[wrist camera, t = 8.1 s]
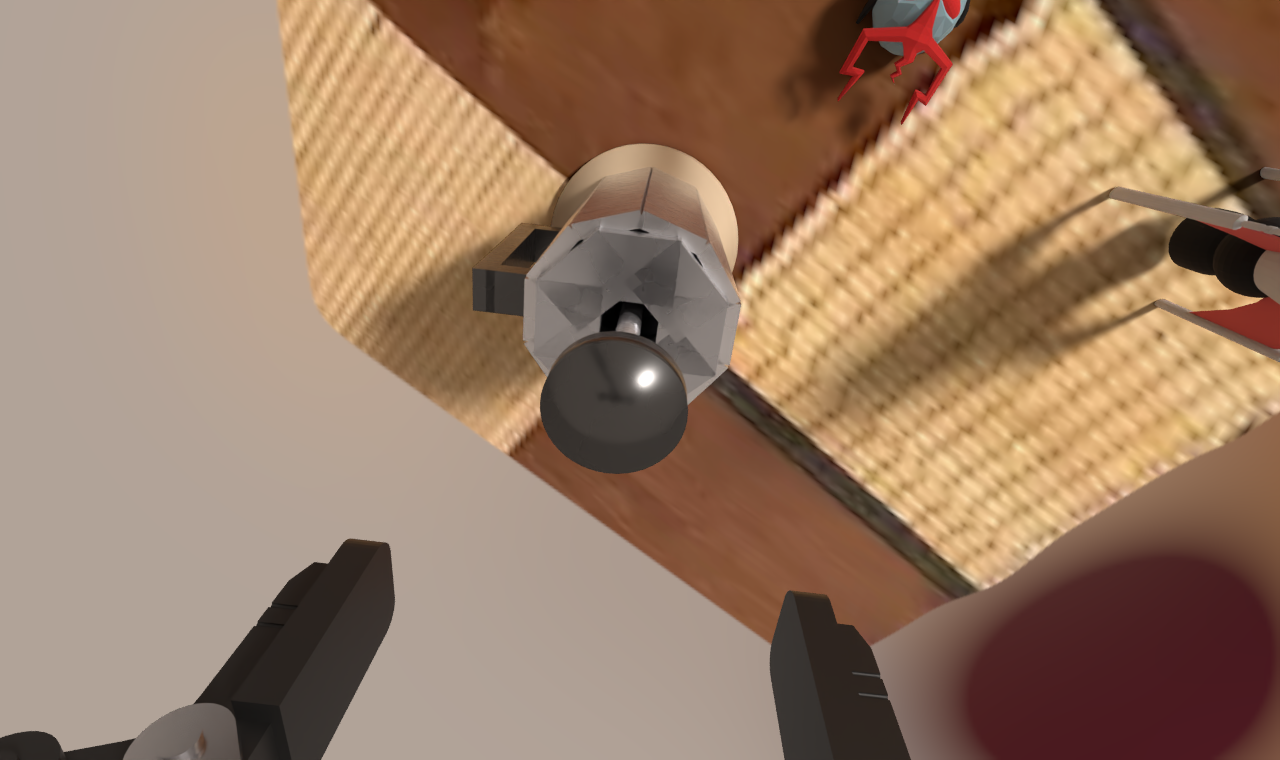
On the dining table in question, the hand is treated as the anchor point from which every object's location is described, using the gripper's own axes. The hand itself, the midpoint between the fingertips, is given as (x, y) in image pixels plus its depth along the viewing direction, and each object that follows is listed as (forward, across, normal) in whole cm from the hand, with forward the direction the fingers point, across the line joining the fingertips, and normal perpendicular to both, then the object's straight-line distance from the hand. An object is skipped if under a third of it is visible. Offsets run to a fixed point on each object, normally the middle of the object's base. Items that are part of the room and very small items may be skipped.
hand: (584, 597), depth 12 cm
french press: (+30, +1, 0) cm, 30 cm away
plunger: (+26, 0, 0) cm, 26 cm away
